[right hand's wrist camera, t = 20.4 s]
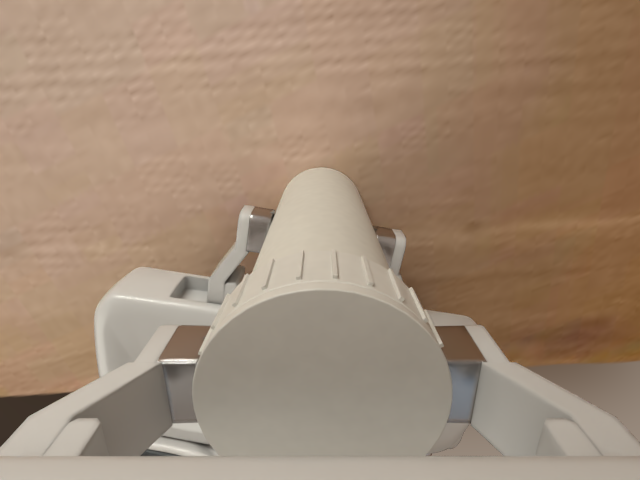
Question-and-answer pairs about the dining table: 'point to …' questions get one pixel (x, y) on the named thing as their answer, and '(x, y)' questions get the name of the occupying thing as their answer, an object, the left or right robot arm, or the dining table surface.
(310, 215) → the jar
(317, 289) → the lid
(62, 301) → the dining table surface
